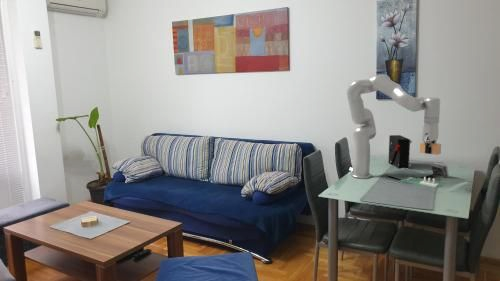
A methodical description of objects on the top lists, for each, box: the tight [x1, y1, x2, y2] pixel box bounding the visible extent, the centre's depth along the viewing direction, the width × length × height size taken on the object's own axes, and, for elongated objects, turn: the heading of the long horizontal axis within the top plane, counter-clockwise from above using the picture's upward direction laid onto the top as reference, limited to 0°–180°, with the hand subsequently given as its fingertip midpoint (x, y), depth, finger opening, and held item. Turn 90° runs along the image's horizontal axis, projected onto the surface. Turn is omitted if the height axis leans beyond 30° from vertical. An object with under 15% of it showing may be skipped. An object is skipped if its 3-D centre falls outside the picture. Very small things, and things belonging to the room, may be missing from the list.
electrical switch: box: [431, 162, 450, 178], centre depth 237 cm, size 9×5×9 cm, turn 20°
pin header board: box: [398, 176, 448, 189], centre depth 225 cm, size 22×14×6 cm, turn 40°
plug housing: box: [419, 141, 442, 156], centre depth 217 cm, size 10×4×6 cm, turn 41°
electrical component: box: [388, 134, 413, 170], centre depth 270 cm, size 18×10×20 cm, turn 179°
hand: (430, 152), depth 218 cm, fingers closed on plug housing, 4 cm apart
